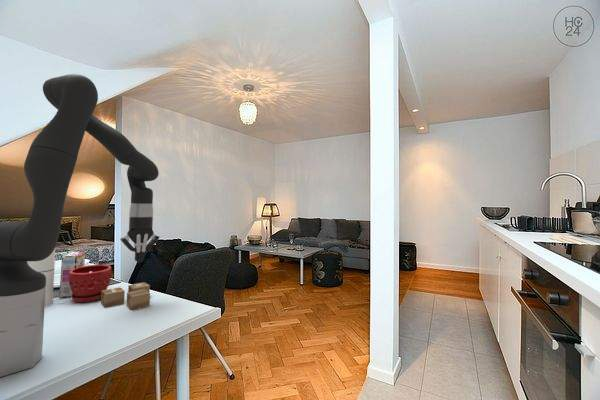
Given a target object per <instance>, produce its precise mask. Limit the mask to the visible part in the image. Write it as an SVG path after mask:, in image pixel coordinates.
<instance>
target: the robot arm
mask: <svg viewBox="0 0 600 400" xmlns="http://www.w3.org/2000/svg"><path fill="white" fill-rule="evenodd" d="M42 91H43V95H44V97H45V98H46V101H48V102H49V103H50V104H51V105H52V106H53V107H54V108H55V109H56V110H57V111H56V113H55V115H54V116H53V117H52V119H51V120H50V121H48V123H47V124H46V126H44V128H42V130H41V131H40V132H39V133H37V135H36V136H35V138H34V139H32V142H31V143H30V146H29V149H28V152H27V155H26V156H25V157H26V158H25V161H24V164H23V172H24V176H25V178H26V181H27V182H28V186H29V188H30V190H31V193H32V196H33V204H32V210H31V213H30V216H29V219H28V220H27V221H20V220H19V221H18V220H17V221H9V220H8V221H2V222H0V378H2V377H6V376H8V375H11V373H12V374H15V373H18V372H22V371H25V370H28V369H31V368H34V367H35V365H36V364H37V363H38V362H39V361H41V360H42V357H43V343H44V326H45V325H44V324H45V307H46V306H45V290H46V277H45V275H44V274H42V273H40V272H37V271H35V270H34V269H32V268H31V267H30V266H29V265H28V261H41V260H44V259H46V258H47V257H49V256H50V255H51V253H52V252H53V251H54V249H55V250H56V247H57V244H58V240H59V238H60V231H61V225H62V219H63V213H64V207H65V202H66V198H67V194H68V189H69V186H70V182H71V179H72V176H73V174H74V170H75V168H76V163H77V161H78V157H79V153H80V149H81V146H82V142H83V139H84V136H85V133H86V132H87V134H89V135H90V136H91V137H92V138H94V139H95V140H96V141H97V142H98V143H100V144H101V145H102V146H103V147H104V148H105V149H106V150H107V151H108V152H109V153H110V154H111V155H112V156H113V157H114V158H115V160H117V161H118V162H119V163H120V164H121V165H125V166H128V167H127V171H126V176H127V180H128V186H129V189H130V207H129V212H128V214H129V218H128V219H129V220H128V231H127V233H126V235H125V236H123V237H121V238H119V239H120V242H121V243H123V245H124V246H125V247H126V248H127V249H128V250H129V251H131V252H134V261H135V262H136V263H143V261H145V255H146V251H149V250H151V249H152V247H154V245H155V244H156V243H157V242H158V241H159V240H160V236H159V235H157V234H155V232H154V230H153V223H154V222H153V220H154V207H153V204H154V203H153V202H154V201H153V199H154V192H153V189H152V188H149V187H147V186H146V182H152V181H155V180H156V179H158V176H159V169H158V167H157V165H156V164H155V162H153V161H152V160H151V159H150V158H149V157H147V156H146V155H145V154H143V153H141V152H140V151H139V150H138V149H137V148H136V147H135V146H134V144H133V143H132V142H131V141H130V140H129V139H128V138H127V137H126V136H125V135H124V134H123V133H121V132H120V131H119V130H117V129H115V128H114V127H112V126H111V125H109V124H107V123H105V122H104V121H102V119H100V118H99V117H97V116H96V115H95V114H93V113H94V111H95V109H96V107H97V104H98V100H99V93H98V92H99V91H98V89H97V87H96V85H95V83H94V82H93V81H92V79H90V78H88V77H87V76H85V75H84V74H83V75H82V74H77V73H76V74H75V73H72V74H70V73H69V74H65V75H60V76H56V77H52V78H49V79H47V80H45V81H44V82H43V84H42ZM130 240H131V241H132V242H133V245H132V244H131V243H130Z"/></svg>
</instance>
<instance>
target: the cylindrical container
mask: <svg viewBox="0 0 600 400" xmlns="http://www.w3.org/2000/svg"><path fill="white" fill-rule="evenodd" d="M55 261H56V248H55V249H54V251H53V252H52V253H51V255H50V256H49V257H47V258H46V259H44V260H41V261H27V263H28V265H29V266H30V267H31V268H32V269H34V270H35V271H37V272H40V273H42V274H44V275H45V277H46V290H45V307H48V306H50V305H53V301H54V300H53V299H54V284H55V283H54V282H55V266H56V265H55V264H56V263H55Z"/></svg>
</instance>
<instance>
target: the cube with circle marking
mask: <svg viewBox="0 0 600 400" xmlns="http://www.w3.org/2000/svg"><path fill="white" fill-rule="evenodd" d="M127 286H128V287H127V289H128V290H127V291H128V292H133V291H139V290H144V289H145V290H147V291H148V292H149V293H151V291H150V288H151V285H150V284H148V283H146V282H145V281H143V282H139V283H134V284H133V283H132V284H128V285H127ZM128 292H127V293H128Z"/></svg>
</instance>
